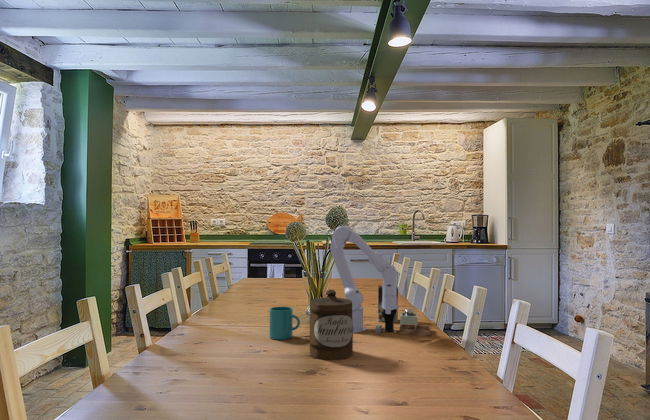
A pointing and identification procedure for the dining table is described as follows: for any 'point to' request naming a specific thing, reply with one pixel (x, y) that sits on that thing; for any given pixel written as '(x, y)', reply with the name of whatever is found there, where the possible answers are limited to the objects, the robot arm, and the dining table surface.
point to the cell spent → (408, 312)
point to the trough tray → (415, 330)
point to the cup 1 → (282, 323)
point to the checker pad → (380, 329)
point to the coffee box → (380, 309)
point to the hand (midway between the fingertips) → (389, 328)
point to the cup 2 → (409, 319)
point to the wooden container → (331, 327)
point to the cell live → (391, 329)
